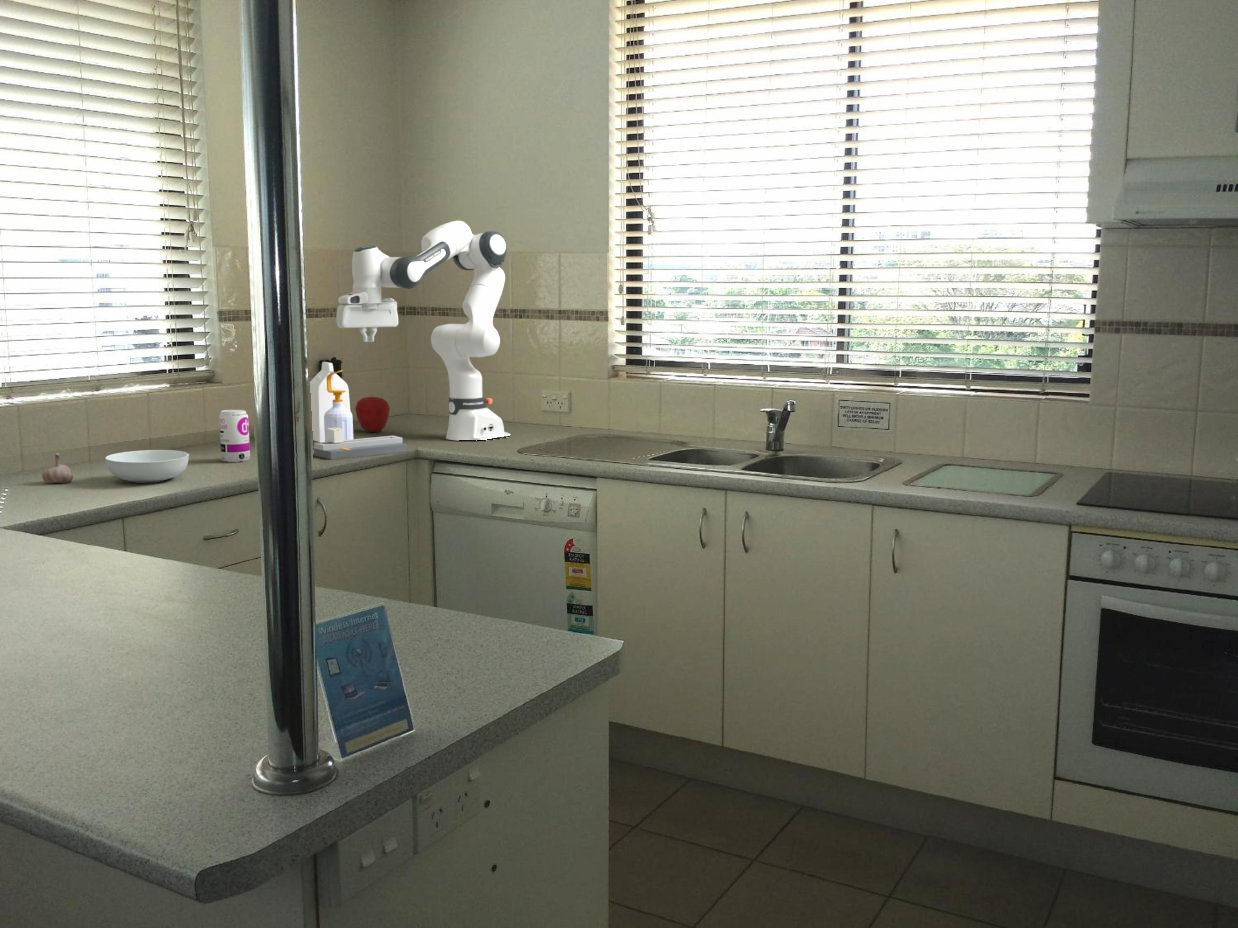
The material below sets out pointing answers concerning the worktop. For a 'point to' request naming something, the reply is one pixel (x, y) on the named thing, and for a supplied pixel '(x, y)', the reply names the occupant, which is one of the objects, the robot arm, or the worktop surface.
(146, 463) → the serving bowl
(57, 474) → the garlic bulb
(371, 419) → the apple
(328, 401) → the milk
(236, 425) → the supplement can
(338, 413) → the soap bottle
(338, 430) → the white small block
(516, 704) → the worktop surface
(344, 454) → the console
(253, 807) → the worktop surface
